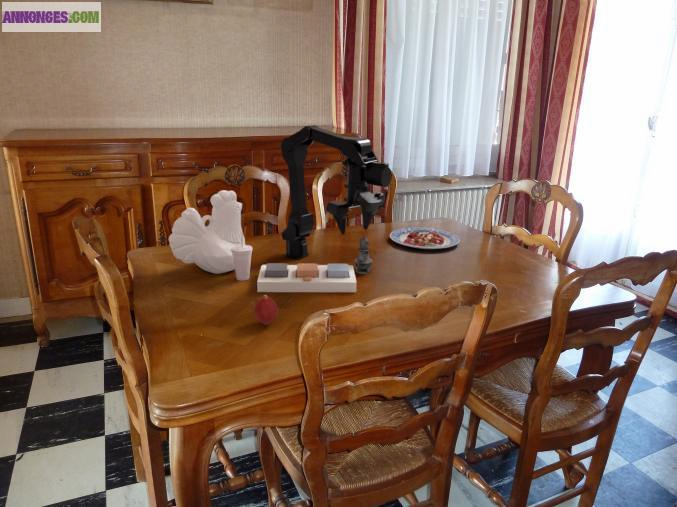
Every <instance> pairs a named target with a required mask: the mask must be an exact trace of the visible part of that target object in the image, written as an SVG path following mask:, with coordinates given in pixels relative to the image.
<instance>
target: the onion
mask: <svg viewBox="0 0 677 507" xmlns="http://www.w3.org/2000/svg"><path fill="white" fill-rule="evenodd" d="M278 311H279V309H278V304H276V302H275V301H274V300H273V299H272V298H271V297H269V296H268V295H267V294H264V295H263V296H262V297H261V298H260V299H259V300H258V301H256V303H255V305H254V307H253V315H254V317H255V319H256V320H257V321H258V322H259V323H261V324H263V325H264V326H268V325H269V324H271V323H272V322H273V321H274V320H275V319H276V318H277V317H278V313H279V312H278Z"/></svg>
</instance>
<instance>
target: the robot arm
mask: <svg viewBox="0 0 677 507" xmlns="http://www.w3.org/2000/svg"><path fill="white" fill-rule="evenodd" d="M314 142H315V143H318V144H321V145H325V146H327V147H330V148H332V149H335V150H338V151H339V152H340V153H341V155H343V156H345V157H346V159H345V160H344V161H342V162H341V164H342V166H347V181H346V182H347V183H344V188H346V196H345V197H343V201H344V202H343V201H339V200H334V201H328V202H327V204H326V206H325V207H326V208H325V209H326V210H325V212H328V213H329V214H330V215H332V216H333V218H334V220H335V222H336V224H337V227H338V229H339V232H340V234H341V235H343V236H344V235H346V234H345V233H346V226H347V225H346V224H347V218H348V217H349V216H350V214H348V213H349V210H351V209H356V208H357V209H358V208H361V214H362V216H361V217H362V226H363V230H366V231H367V230H368V229H369V226H370V223H371V222H372V219H373V217H374V215H375V213H378V211H381V209H382V208H384V205H385V201H384V193H382V192H376V193H372V192H371V188H370V185H372V186H376V187H381V188H387V187H389V186H390V184H391V183H392V178H393V174H392V170H391V168H390V166H389V165H390V163H389V162H379V158H378V157H377V155H376V152H375V151H374V150H373V147H372V144H371V140H370V139H368V138H365V137H358V136H345V135H343V134H340V133H336V132H334V131H331V130H328V129H325V128H322V127H319V126H317V125H316V124H312V125H306V126H304V127H302V128H301V129H299V131H297V132H295V133H293V134H291V135H289V136H288V137H284V138H283V139H282V141H281V142H280V149H281V151H280V152H281V155H282V159H283V160H284V162H285V163H286V165H287V169H288V181H289V183H288V184H289V193H290V205H291V206H290V207H291V210H290V213H289V216H288V218H287V227H286V228H285V229H284V230H283V231H282V232H281V238H282V240H283V241H285V253H284V254H283V256H284V257H286V258H291V259H294V260H295V259H296V260H300V259H302V258H305V257H307V256H309V254H310V253H309V252H308V243H307V238H309V237H310V236H311V232H312V231H313V230H314V226H315V221H314V219H315V215H314V213H312V212H311V213H310V210H308V208H307V197H306V196H307V195H306V182H305V172H304V169H305V167H304V164H305V162H306V158H307V156H308V148H309V147H310V146H311V145H313V143H314Z"/></svg>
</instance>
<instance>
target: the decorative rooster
mask: <svg viewBox="0 0 677 507" xmlns="http://www.w3.org/2000/svg"><path fill="white" fill-rule="evenodd" d="M210 203H211V205H212V209H211V215H209V214H206V215H204V216H201V215H200V213H199V212H198V211H197V210H196V208H194V207H187V208H186V209H185V210H184V211H182V212H181V216H179V217H178V218H177V219H176V220H175V221H174V223H173V226H172V228H171V232H172V233H171V234H170V235H169V236H168V242H169V247H170V248H171V252H172V254H173V256H174V257H175V258H176V259H177V260H181V261H182V262H183V263H184V264H192V263H193V264H194V263H195V264H196V266H198V267H199V268H200V269H202V270H203V271H206V272H208V273H211V274H214V275H215V274H219V275H220V274H223V273H228V272H231V271H235V266H234V260H233V255H232V252H231V247H233V246H236V245H242V242H241V233H243V245H246V238H245V236H244V232H243V229H242V213H241V212H242V209H243V203H242V202H239V201H237V193H236V192H235V191H234V190H224V189H223V190H220V191H218V192H217V193H214V194H213V195H212V196H211V197H210ZM207 220H208V221H209V224H208V225H206V221H207Z"/></svg>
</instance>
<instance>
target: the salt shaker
mask: <svg viewBox="0 0 677 507" xmlns="http://www.w3.org/2000/svg"><path fill="white" fill-rule="evenodd" d="M369 246H370V239H369V238H368V237H366V235H365V234H364V235H363V237H362V238H360V239H359V248H358V257H356V258H355V259H354V264H355V267H356V268H355V269H354V273H356V272H357V274H358V273H360V274H359V275H369V274H371V273H372V270H371V269H370V268H371V267H372V263H373V262H374V261H373V259H372V258H370V256H369V255H370V254H369V252H370V250H371V249H370V248H369ZM368 273H369V274H368Z"/></svg>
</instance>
